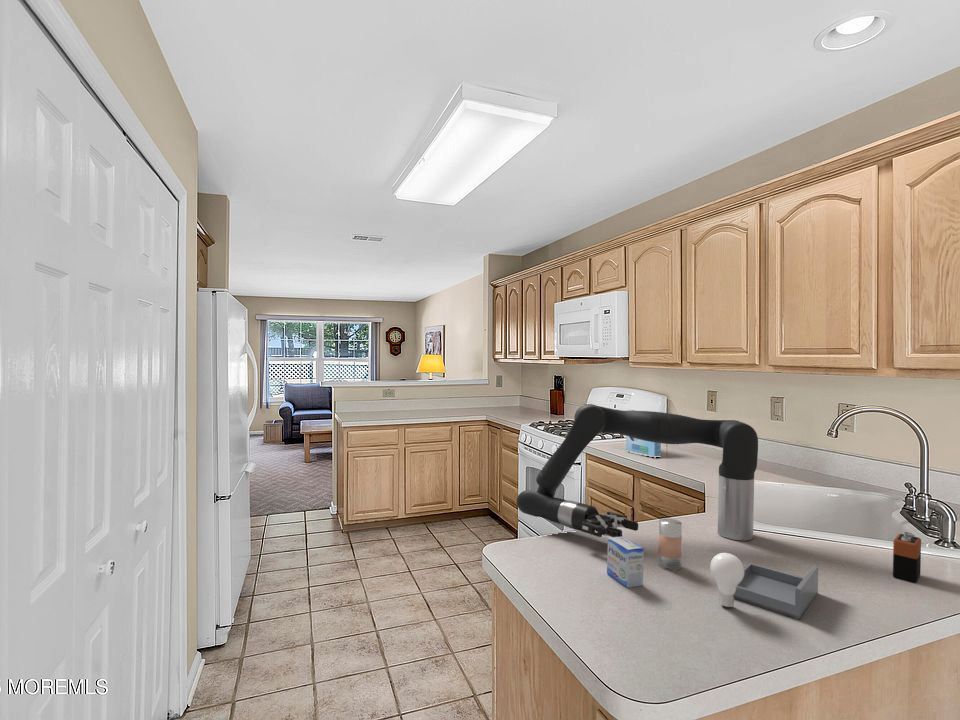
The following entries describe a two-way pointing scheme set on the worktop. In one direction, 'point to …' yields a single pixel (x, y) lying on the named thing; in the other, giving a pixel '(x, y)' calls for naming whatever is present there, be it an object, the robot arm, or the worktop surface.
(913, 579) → the battery
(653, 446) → the gum box
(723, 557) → the lightbulb
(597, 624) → the worktop surface
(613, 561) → the medicine box
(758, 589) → the tote
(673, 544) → the tin can
